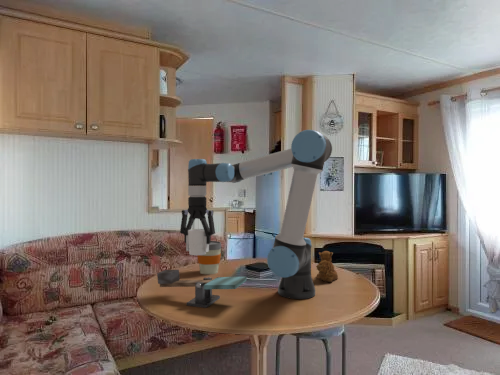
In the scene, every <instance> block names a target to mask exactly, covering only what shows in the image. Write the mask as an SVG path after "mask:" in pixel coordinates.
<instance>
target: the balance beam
mask: <svg viewBox="0 0 500 375" xmlns="http://www.w3.org/2000/svg"><path fill="white" fill-rule="evenodd" d="M156 276H157V284H159V288H170V287H171V288H183V287H184V288H185V287H186V288H188V287H189V288H190V287H192V288H195V283H196V282H204V283H205V285H204V289H212V290H236V289H238V288H239V287H240V286H242V285H243V284H244V283H246V282H247V280H248V279H247V276H218V277H216V278H213V279H212V280H203V279H189V280H188V279H187V280H186V279H185V280H183V279H180V278H181V277H180V270H179V269H165V270H162V271H160V272H157V273H156Z"/></svg>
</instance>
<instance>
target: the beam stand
mask: <svg viewBox="0 0 500 375" xmlns="http://www.w3.org/2000/svg"><path fill="white" fill-rule="evenodd" d="M202 280H213V278H212V277H210V276H208V277H203V279H202ZM204 285H205V283H204V282H196V283H195V287H194V291H195V293H194V294H195V295H194V297H193V298H192V299H190V300H188V301H187V302H186V306H189V307H197V308H203V309H206V308H208V307H210V306H211V305H213V304H214V303H215V302H217V301H218V300H220V299H221V295H218V294H213V289H204Z"/></svg>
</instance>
